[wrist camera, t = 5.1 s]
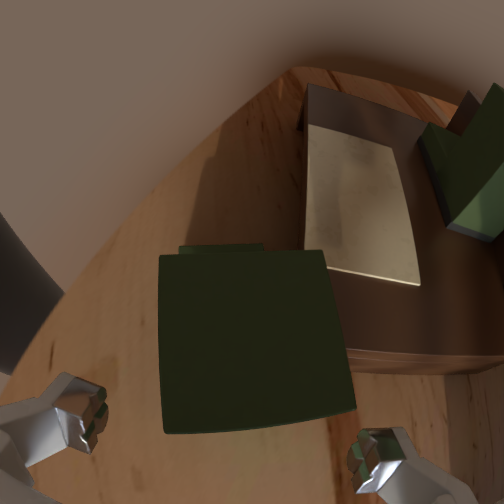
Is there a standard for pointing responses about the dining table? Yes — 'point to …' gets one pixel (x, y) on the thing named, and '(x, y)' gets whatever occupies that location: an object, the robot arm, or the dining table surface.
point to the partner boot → (470, 170)
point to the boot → (248, 339)
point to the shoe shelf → (395, 242)
